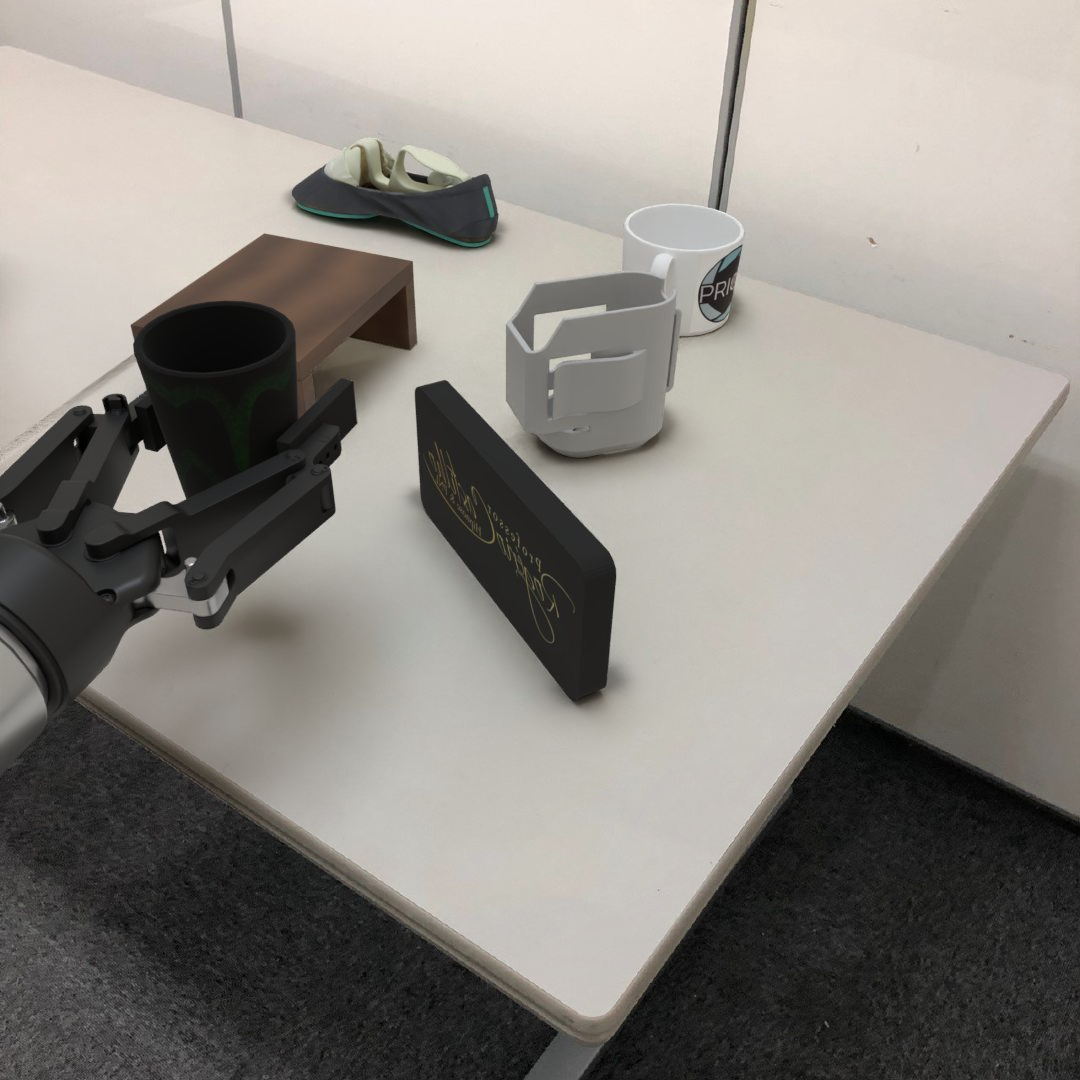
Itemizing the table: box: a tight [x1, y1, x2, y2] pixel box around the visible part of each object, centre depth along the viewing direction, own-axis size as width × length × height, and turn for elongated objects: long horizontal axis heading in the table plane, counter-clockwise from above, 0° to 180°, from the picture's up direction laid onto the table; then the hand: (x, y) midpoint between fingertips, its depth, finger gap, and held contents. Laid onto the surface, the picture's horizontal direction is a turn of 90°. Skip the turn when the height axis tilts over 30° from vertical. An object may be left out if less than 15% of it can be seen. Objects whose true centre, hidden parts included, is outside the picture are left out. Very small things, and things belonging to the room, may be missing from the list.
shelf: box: [130, 232, 418, 419], centre depth 84 cm, size 14×18×8 cm
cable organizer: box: [505, 270, 682, 459], centre depth 76 cm, size 7×12×12 cm, turn 110°
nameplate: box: [414, 379, 617, 701], centre depth 63 cm, size 21×2×10 cm, turn 29°
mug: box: [621, 203, 746, 337], centre depth 93 cm, size 13×10×8 cm
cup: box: [132, 301, 298, 500], centre depth 55 cm, size 8×8×12 cm
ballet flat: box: [291, 136, 500, 248], centre depth 109 cm, size 8×24×8 cm, turn 63°
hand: (281, 385), depth 59 cm, fingers closed on cup, 8 cm apart
